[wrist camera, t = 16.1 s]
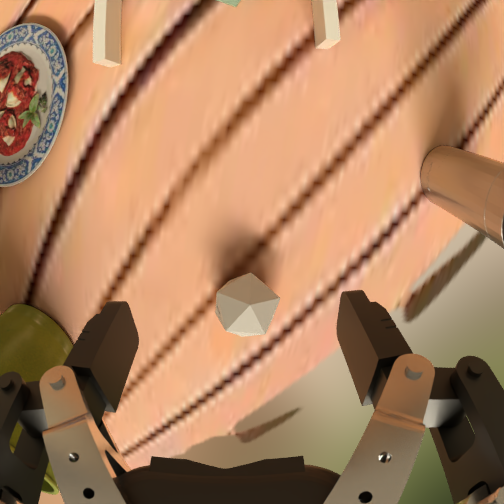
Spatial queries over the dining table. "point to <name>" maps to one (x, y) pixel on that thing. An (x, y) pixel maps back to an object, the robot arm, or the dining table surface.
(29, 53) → the ceramic plate
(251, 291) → the die
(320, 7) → the arena
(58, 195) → the dining table surface
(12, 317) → the plant pot
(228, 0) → the pad
